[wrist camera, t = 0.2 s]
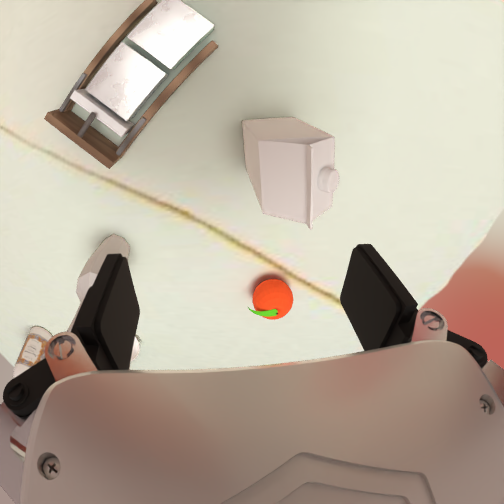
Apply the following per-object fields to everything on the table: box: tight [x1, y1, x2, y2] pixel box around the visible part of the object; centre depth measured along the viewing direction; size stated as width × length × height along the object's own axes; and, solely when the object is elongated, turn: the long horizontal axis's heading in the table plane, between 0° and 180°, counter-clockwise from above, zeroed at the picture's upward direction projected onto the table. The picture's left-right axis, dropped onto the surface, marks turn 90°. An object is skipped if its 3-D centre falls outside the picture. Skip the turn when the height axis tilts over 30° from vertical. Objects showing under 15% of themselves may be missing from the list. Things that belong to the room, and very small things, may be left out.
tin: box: [127, 0, 215, 70], centre depth 27 cm, size 8×8×4 cm
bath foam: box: [14, 326, 53, 378], centre depth 45 cm, size 7×7×20 cm
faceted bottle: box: [67, 234, 130, 332], centre depth 35 cm, size 6×6×22 cm
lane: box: [44, 0, 218, 169], centre depth 28 cm, size 20×12×6 cm, turn 135°
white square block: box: [85, 42, 169, 121], centre depth 30 cm, size 8×8×4 cm
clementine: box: [249, 279, 293, 319], centre depth 49 cm, size 8×7×7 cm
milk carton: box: [242, 117, 339, 229], centre depth 31 cm, size 7×7×19 cm
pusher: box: [70, 89, 134, 137], centre depth 31 cm, size 1×9×4 cm, turn 45°
